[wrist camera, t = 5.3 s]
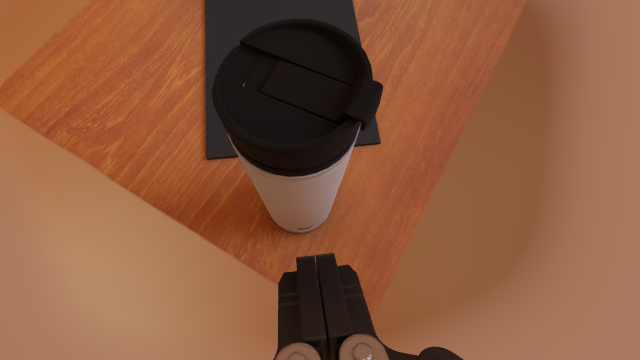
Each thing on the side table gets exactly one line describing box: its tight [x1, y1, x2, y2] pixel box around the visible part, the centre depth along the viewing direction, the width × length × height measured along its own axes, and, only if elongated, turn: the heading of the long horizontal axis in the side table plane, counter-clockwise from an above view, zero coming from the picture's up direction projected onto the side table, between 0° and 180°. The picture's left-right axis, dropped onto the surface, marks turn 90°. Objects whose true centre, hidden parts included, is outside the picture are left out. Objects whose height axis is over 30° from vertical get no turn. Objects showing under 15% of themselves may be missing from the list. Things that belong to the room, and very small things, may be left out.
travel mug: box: [212, 18, 383, 233], centre depth 20 cm, size 6×7×20 cm
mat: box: [205, 0, 380, 160], centre depth 35 cm, size 22×18×1 cm
